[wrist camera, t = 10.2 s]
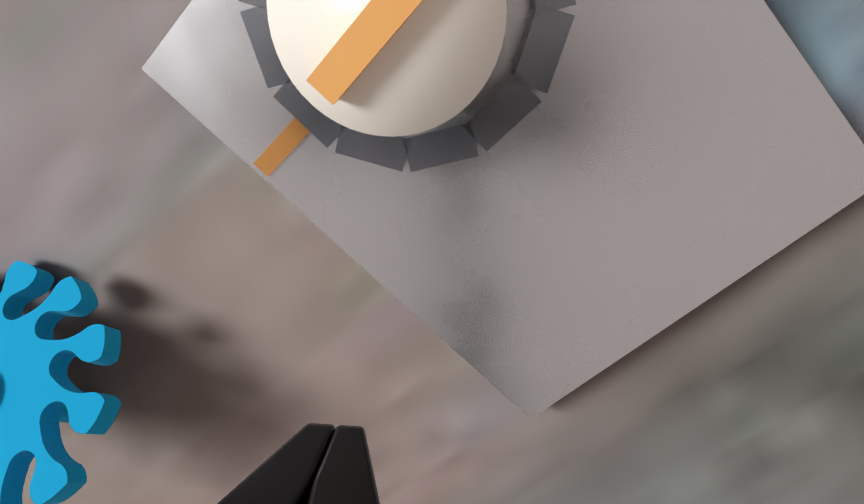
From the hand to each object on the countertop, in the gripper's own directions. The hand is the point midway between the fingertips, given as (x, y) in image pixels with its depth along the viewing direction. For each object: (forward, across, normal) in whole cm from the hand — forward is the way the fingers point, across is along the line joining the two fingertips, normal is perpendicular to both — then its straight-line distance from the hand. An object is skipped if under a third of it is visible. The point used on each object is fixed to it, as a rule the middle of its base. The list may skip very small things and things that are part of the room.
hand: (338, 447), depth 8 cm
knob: (+10, 0, -6) cm, 12 cm away
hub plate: (+12, -3, -3) cm, 13 cm away
